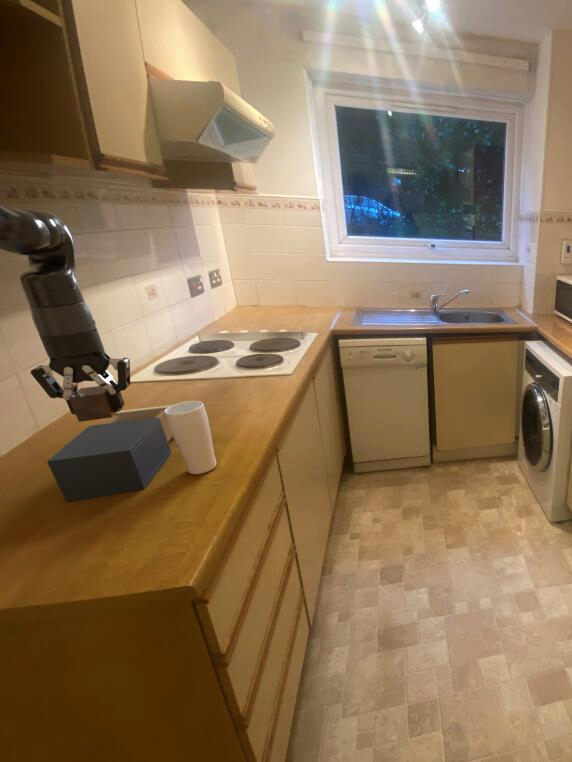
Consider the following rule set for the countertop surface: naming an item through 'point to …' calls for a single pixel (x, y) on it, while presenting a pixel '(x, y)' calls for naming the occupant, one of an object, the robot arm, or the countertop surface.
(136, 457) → the dark grey box
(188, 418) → the drinking glass
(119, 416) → the drawer
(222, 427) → the countertop surface
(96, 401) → the block
